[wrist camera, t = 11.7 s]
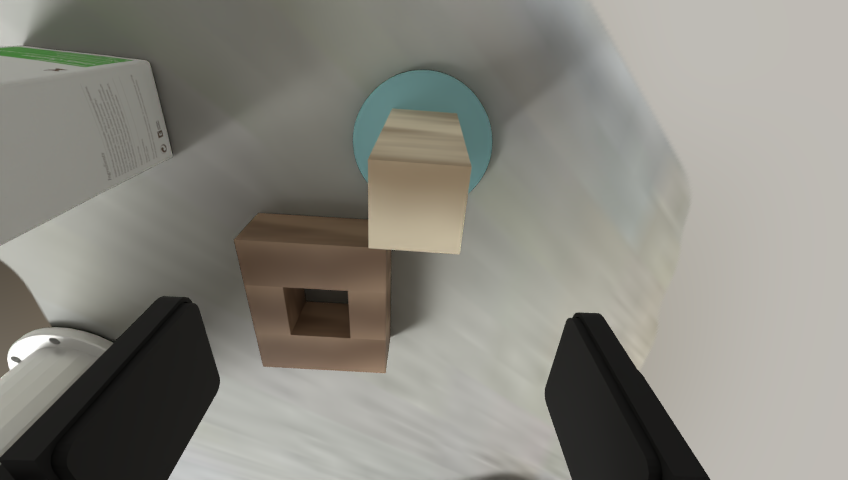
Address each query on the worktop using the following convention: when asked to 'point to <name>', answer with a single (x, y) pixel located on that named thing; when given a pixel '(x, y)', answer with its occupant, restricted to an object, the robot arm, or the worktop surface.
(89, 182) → the skincare box
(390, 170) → the maple peg
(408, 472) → the worktop surface
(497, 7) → the worktop surface
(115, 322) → the worktop surface
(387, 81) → the teal rubber pad
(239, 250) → the walnut socket block
